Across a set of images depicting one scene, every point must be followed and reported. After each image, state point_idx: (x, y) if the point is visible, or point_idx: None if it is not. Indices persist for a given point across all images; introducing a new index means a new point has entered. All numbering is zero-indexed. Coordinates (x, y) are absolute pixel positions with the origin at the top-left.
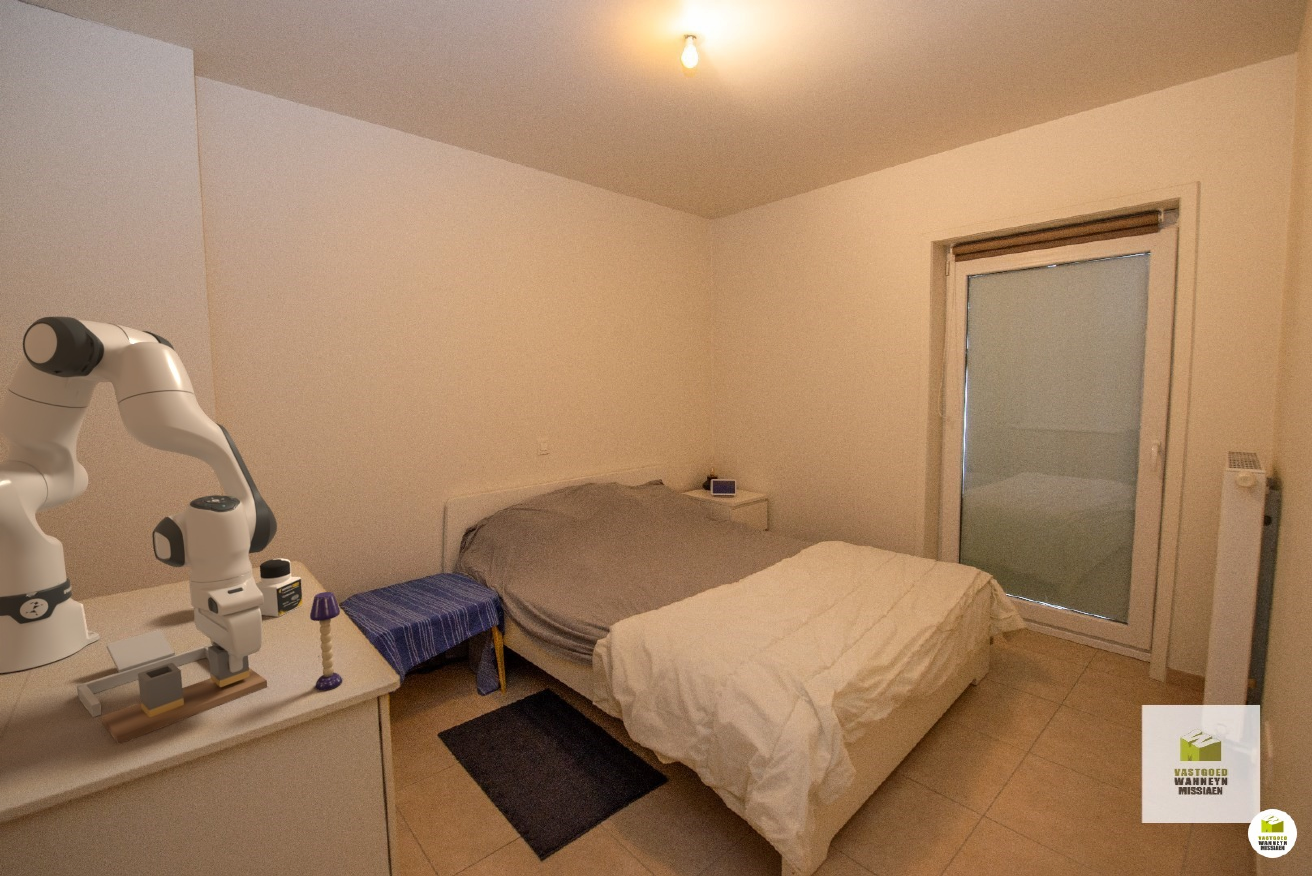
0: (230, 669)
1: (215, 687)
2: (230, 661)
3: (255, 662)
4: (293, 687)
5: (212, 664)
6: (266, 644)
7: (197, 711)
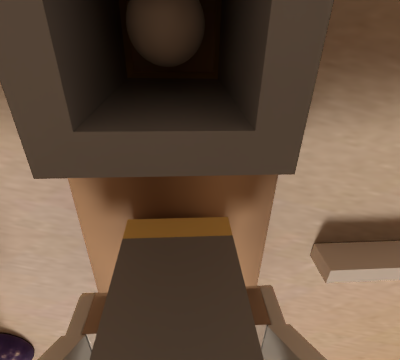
0: (77, 304)
1: (177, 207)
2: (47, 351)
3: (286, 296)
4: (48, 310)
5: (197, 278)
6: (359, 329)
7: None
